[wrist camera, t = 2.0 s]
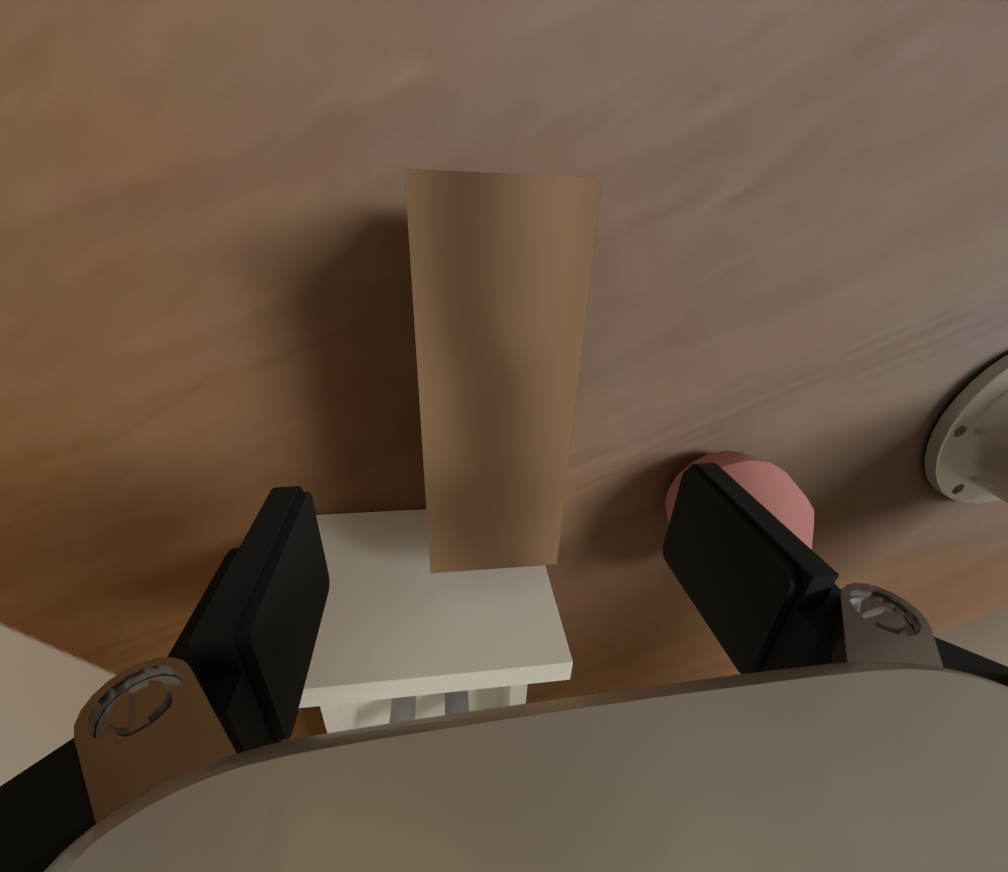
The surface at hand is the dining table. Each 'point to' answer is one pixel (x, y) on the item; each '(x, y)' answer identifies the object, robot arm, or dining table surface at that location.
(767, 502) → the pink vase
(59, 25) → the dining table surface
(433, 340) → the brown wooden block
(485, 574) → the stand
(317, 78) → the dining table surface
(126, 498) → the dining table surface
